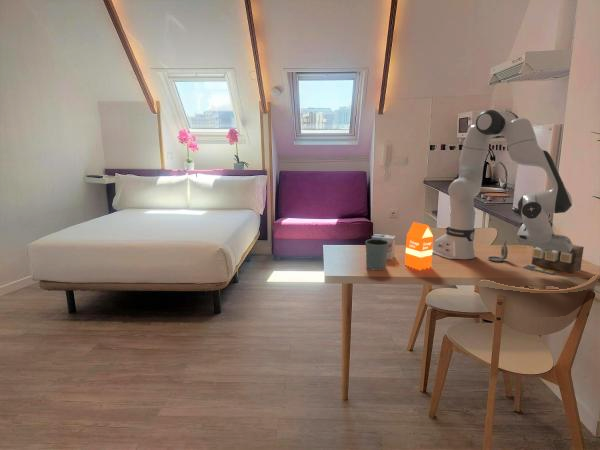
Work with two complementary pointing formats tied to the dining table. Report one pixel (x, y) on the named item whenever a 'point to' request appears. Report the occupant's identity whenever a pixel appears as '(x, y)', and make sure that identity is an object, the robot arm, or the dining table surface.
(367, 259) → the grey green cup
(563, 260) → the button right
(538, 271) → the pattern tile
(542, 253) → the button left
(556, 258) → the button middle
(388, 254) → the light bulb box
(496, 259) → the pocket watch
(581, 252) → the console
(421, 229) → the orange juice
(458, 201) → the robot arm
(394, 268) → the dining table surface
